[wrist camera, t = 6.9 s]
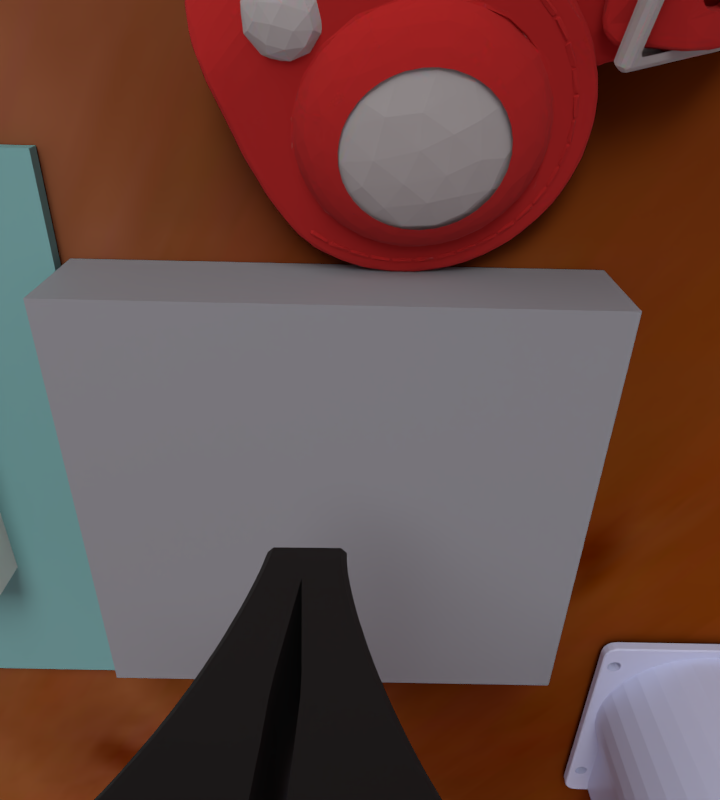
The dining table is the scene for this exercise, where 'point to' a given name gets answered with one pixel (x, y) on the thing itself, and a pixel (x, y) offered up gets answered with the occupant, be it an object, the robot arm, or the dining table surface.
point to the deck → (335, 448)
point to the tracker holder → (424, 109)
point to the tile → (5, 558)
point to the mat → (37, 456)
